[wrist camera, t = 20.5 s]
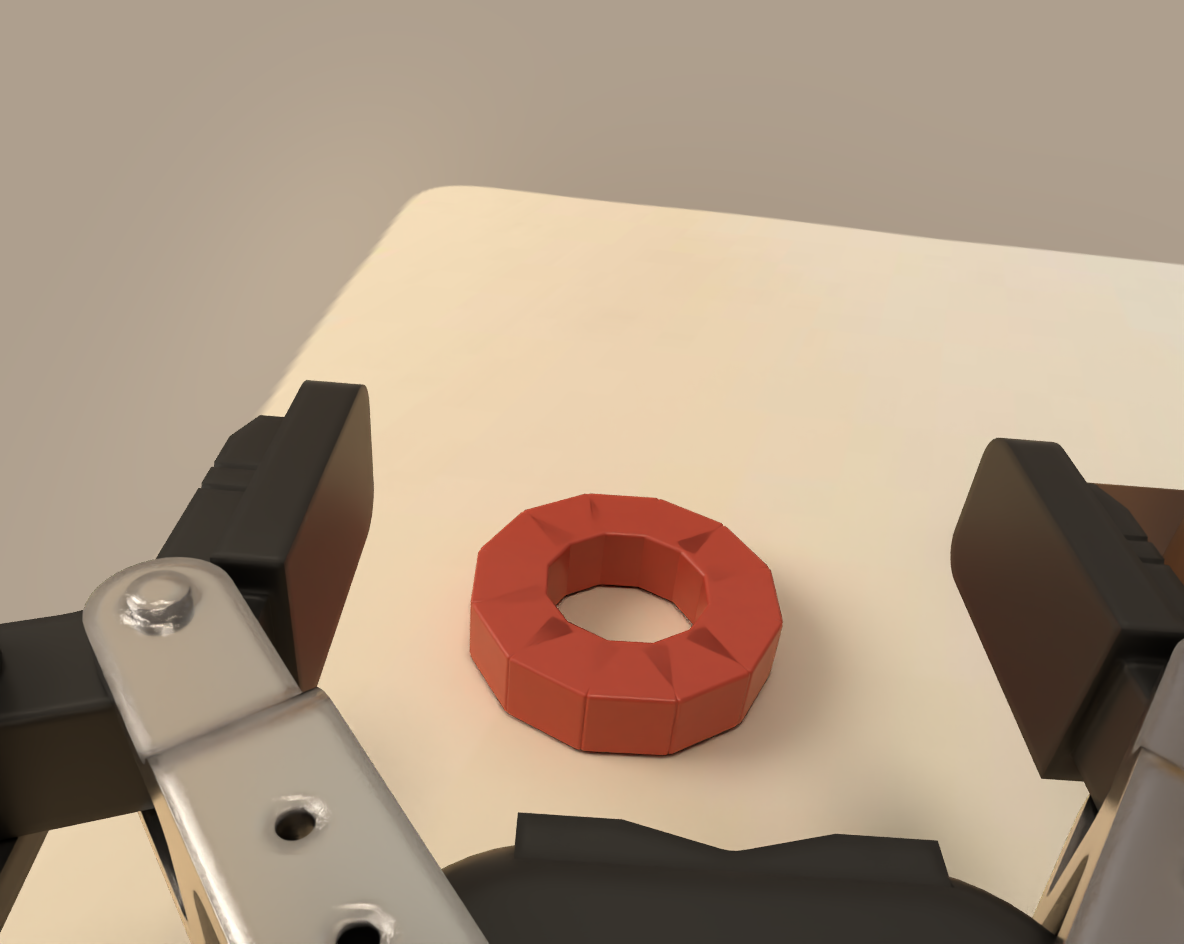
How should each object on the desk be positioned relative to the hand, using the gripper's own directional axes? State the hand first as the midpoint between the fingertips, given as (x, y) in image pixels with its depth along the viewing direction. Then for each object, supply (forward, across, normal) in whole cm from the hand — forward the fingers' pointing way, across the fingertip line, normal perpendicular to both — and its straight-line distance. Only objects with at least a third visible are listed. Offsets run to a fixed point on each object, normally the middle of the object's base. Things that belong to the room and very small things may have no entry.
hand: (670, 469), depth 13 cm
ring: (+4, 0, +6) cm, 7 cm away
